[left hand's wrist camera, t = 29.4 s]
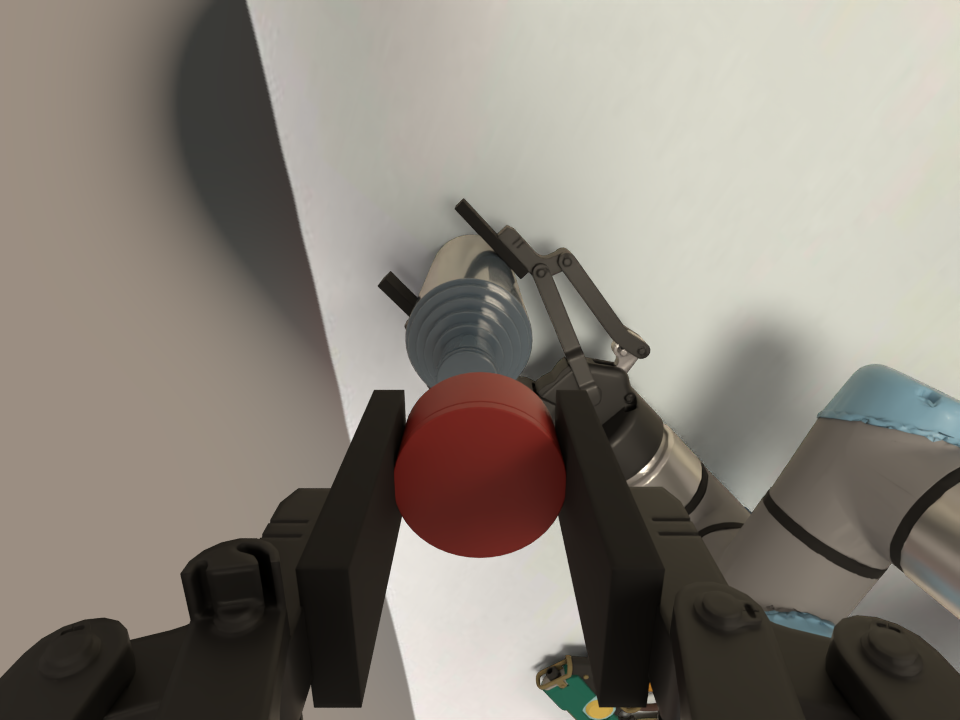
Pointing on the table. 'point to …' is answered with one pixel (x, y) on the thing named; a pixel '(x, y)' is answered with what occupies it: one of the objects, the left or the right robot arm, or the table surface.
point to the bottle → (468, 316)
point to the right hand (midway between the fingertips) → (421, 242)
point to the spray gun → (580, 691)
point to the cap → (479, 466)
